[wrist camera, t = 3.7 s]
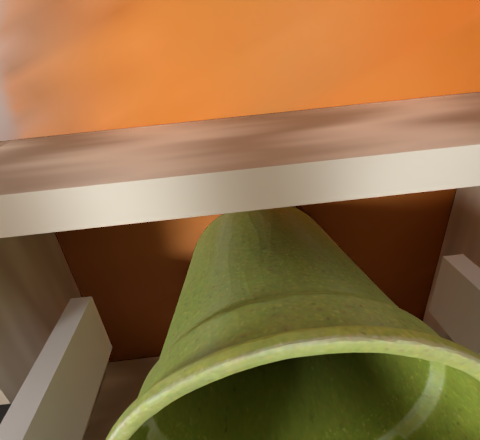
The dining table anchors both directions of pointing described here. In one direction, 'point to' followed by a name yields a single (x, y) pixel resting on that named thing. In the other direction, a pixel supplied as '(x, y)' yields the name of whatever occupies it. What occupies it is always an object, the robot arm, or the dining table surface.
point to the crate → (212, 199)
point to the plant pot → (297, 348)
